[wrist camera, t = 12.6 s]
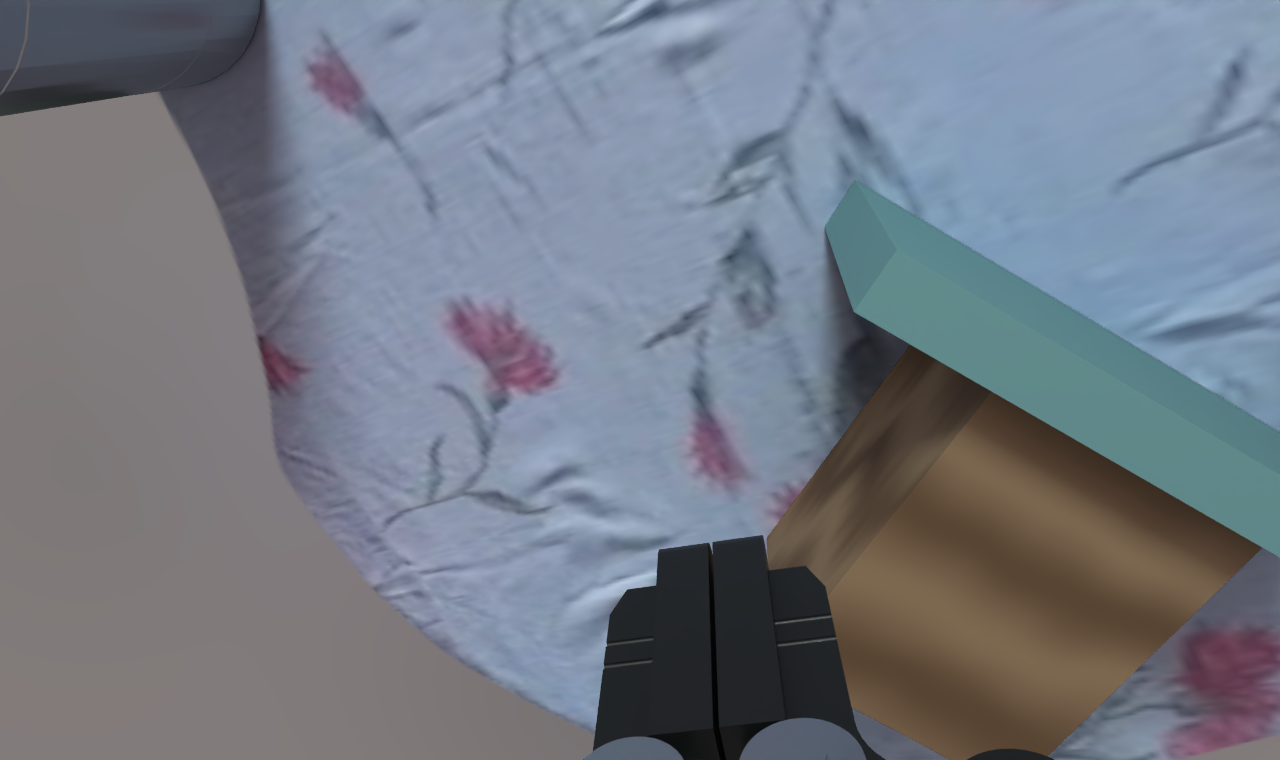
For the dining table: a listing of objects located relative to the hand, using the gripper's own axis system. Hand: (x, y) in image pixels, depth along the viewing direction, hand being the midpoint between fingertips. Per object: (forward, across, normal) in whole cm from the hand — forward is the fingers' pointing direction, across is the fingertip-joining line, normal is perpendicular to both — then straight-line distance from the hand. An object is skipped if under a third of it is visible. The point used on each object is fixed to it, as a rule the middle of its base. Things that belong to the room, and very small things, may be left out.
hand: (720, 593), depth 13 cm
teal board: (+29, -15, +10) cm, 34 cm away
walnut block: (+29, -10, +17) cm, 35 cm away
